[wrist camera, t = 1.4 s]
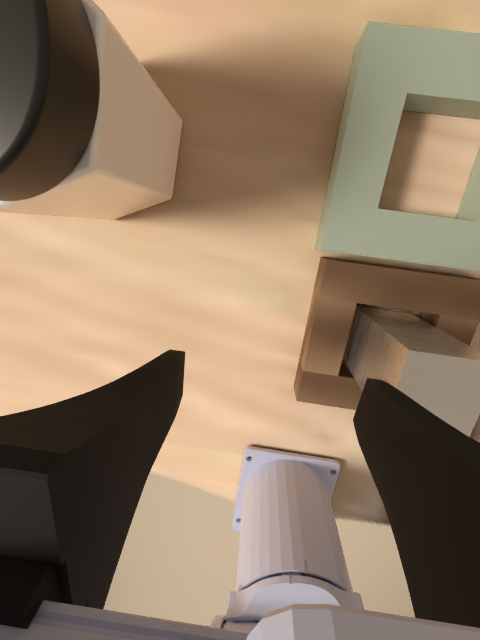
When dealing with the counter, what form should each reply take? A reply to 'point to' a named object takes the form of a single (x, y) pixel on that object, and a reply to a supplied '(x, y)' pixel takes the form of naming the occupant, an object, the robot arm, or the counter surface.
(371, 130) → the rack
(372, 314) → the peg
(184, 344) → the counter surface
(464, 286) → the socket block
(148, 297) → the counter surface
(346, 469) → the counter surface
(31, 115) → the jar
